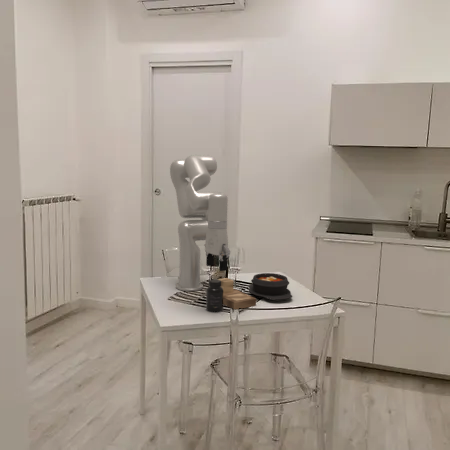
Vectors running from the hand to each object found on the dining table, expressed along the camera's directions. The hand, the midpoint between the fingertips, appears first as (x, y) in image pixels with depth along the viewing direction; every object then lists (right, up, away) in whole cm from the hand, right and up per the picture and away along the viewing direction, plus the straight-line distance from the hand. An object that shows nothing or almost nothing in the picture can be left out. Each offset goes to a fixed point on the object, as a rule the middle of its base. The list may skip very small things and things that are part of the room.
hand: (216, 268), depth 185 cm
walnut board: (+7, -16, +13) cm, 22 cm away
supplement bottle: (-1, -17, +2) cm, 17 cm away
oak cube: (+3, -12, +18) cm, 22 cm away
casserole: (+23, -15, +24) cm, 37 cm away
